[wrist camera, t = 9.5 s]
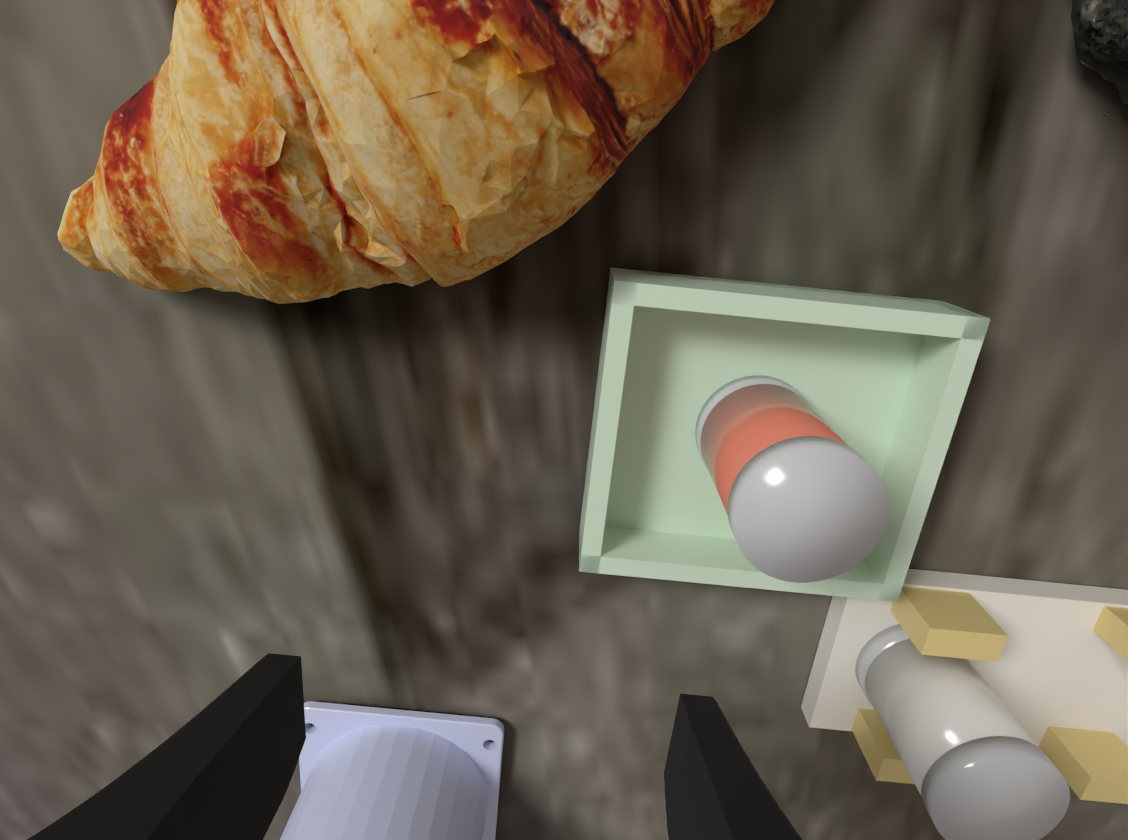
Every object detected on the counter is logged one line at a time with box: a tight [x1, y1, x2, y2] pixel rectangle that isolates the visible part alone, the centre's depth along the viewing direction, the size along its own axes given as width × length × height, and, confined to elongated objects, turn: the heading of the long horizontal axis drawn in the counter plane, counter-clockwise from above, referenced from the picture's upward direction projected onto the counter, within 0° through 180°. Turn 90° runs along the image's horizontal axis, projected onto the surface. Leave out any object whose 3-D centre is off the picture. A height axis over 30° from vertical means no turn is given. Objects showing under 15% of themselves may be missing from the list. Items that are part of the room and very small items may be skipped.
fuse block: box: [801, 569, 1128, 804], centre depth 23 cm, size 6×20×3 cm, turn 84°
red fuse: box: [695, 375, 889, 583], centre depth 18 cm, size 4×4×6 cm
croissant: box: [58, 0, 775, 304], centre depth 16 cm, size 21×10×8 cm, turn 115°
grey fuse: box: [855, 624, 1070, 840], centre depth 21 cm, size 4×4×6 cm
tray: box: [579, 267, 990, 602], centre depth 20 cm, size 9×10×2 cm
